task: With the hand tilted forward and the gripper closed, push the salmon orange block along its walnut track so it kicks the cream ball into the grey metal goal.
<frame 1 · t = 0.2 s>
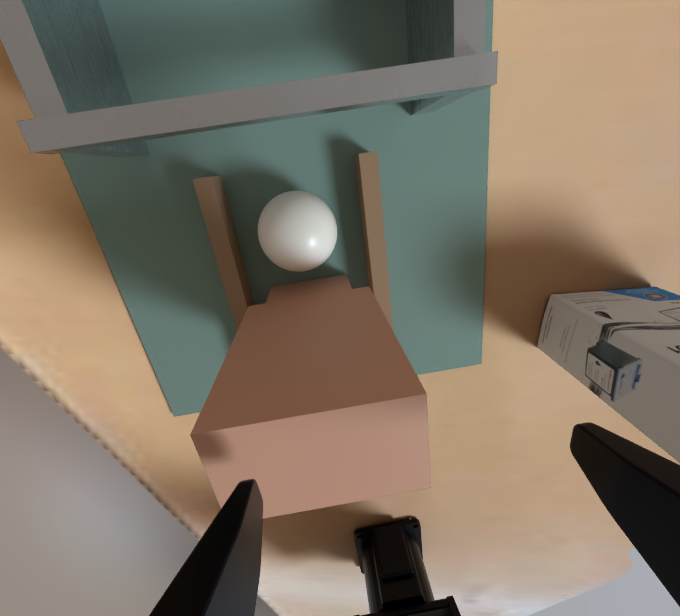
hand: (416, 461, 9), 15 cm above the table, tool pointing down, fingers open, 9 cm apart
salmon orange block: (316, 357, 16), point 7 cm above the table, slide at 0.0 cm
ball: (298, 232, 18), point 2 cm above the table, touching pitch
goal: (264, 40, 17), resting on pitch
ink box: (591, 318, 26), on the table
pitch: (294, 200, 20), on the table
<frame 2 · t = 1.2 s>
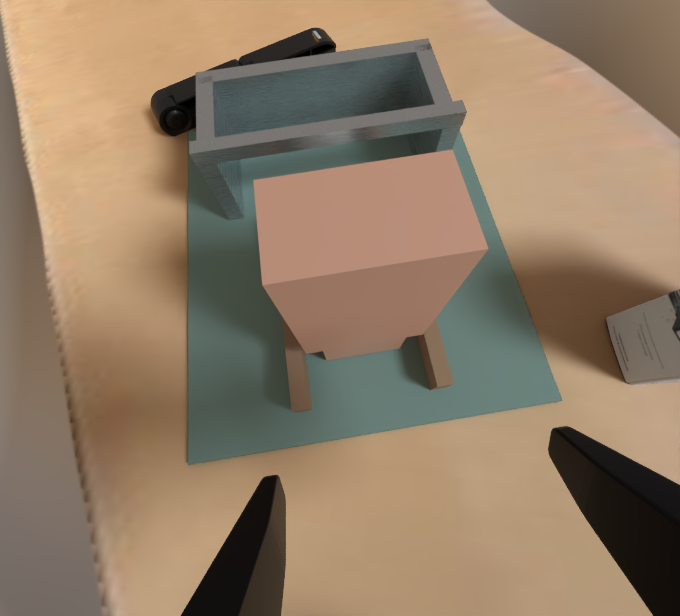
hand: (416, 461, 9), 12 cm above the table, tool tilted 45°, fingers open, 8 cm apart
salmon orange block: (359, 290, 17), point 7 cm above the table, slide at 0.0 cm
portable electronic device stand: (252, 98, 32), on the table
goal: (327, 164, 28), resting on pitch
ink box: (674, 349, 22), on the table
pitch: (342, 244, 26), on the table
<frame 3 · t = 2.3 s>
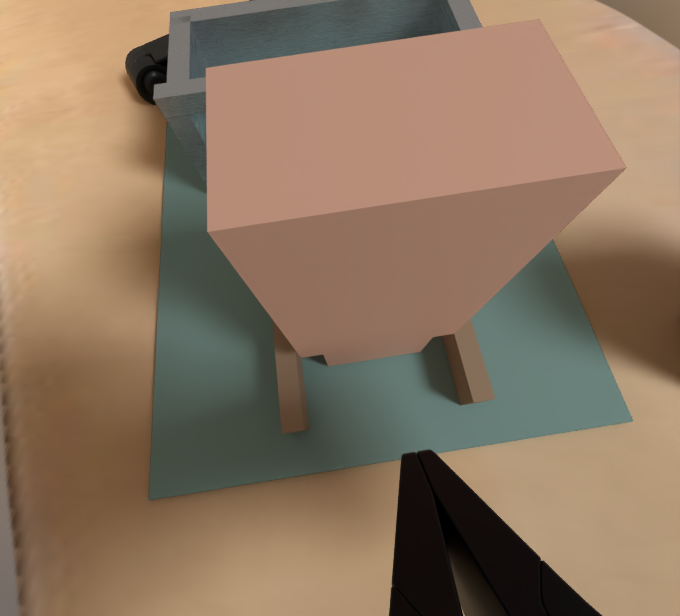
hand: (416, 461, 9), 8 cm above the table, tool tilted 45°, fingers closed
salmon orange block: (374, 271, 12), point 7 cm above the table, slide at 0.0 cm
portable electronic device stand: (245, 61, 28), on the table
goal: (330, 133, 24), resting on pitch
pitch: (348, 224, 21), on the table
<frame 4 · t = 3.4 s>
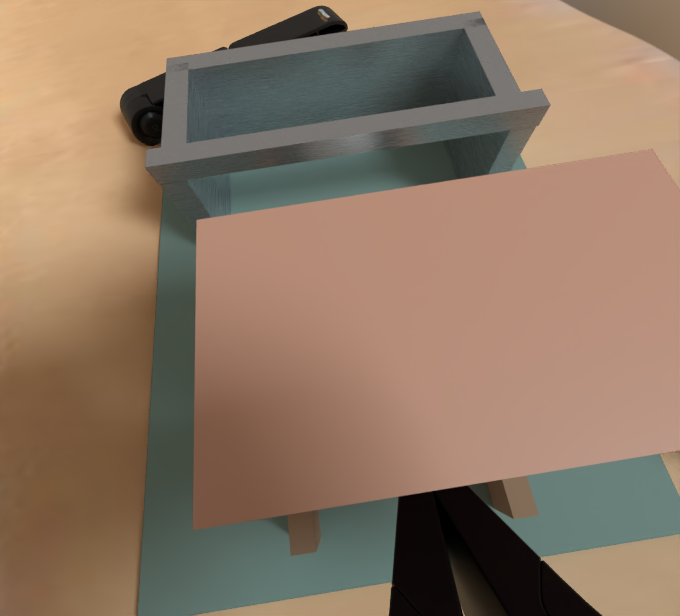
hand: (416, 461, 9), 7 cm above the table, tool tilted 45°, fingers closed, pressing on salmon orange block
salmon orange block: (401, 381, 10), point 7 cm above the table, slide at 0.3 cm, touching gripper
portable electronic device stand: (247, 96, 26), on the table
goal: (340, 179, 22), resting on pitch
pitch: (361, 284, 19), on the table
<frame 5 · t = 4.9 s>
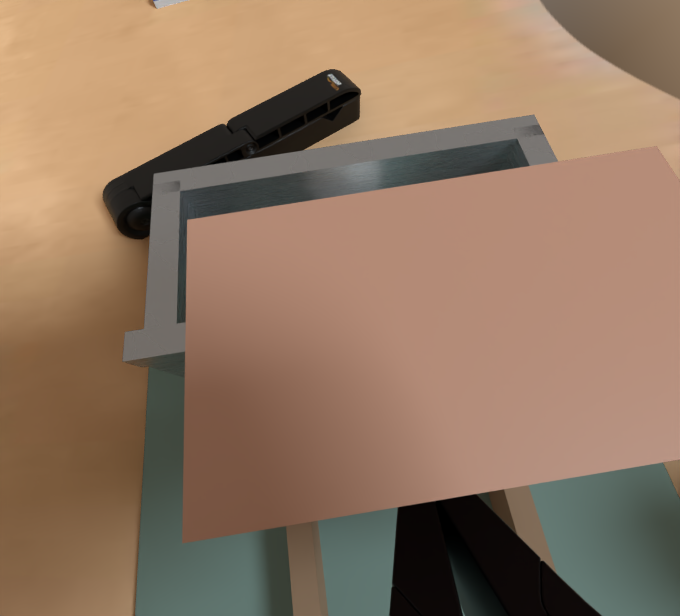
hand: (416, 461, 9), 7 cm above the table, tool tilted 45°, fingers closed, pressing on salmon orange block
salmon orange block: (399, 382, 10), point 7 cm above the table, slide at 8.5 cm, touching goal, gripper
portable electronic device stand: (249, 170, 23), on the table
goal: (360, 286, 19), resting on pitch
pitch: (388, 432, 16), on the table
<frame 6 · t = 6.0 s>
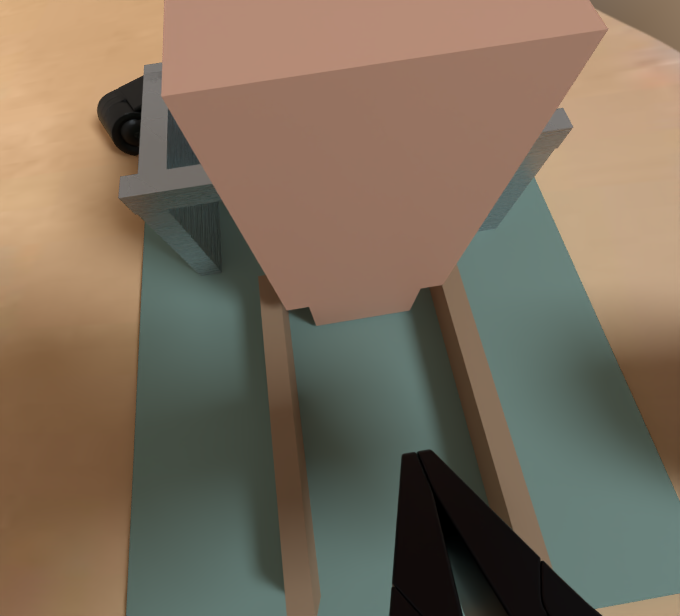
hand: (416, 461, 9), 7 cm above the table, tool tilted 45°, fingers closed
salmon orange block: (358, 211, 12), point 7 cm above the table, slide at 8.5 cm, touching goal
portable electronic device stand: (235, 96, 25), on the table
goal: (338, 193, 21), resting on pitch
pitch: (361, 312, 18), on the table
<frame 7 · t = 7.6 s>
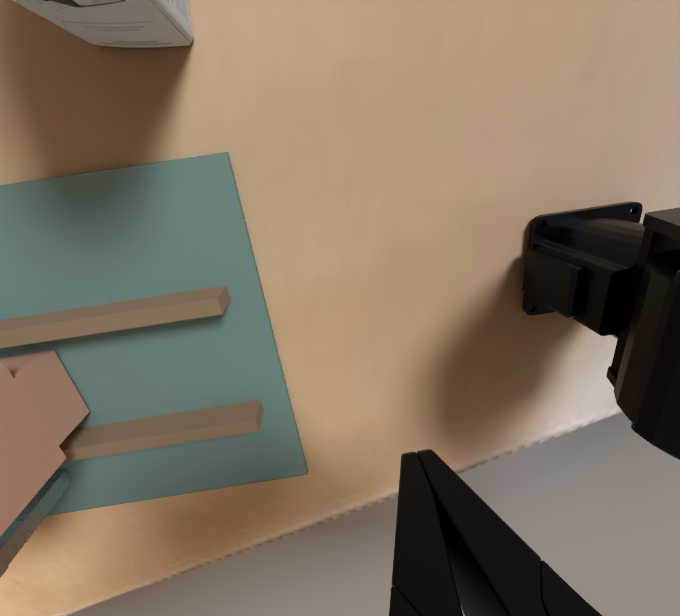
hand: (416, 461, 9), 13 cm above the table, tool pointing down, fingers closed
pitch: (70, 378, 22), on the table
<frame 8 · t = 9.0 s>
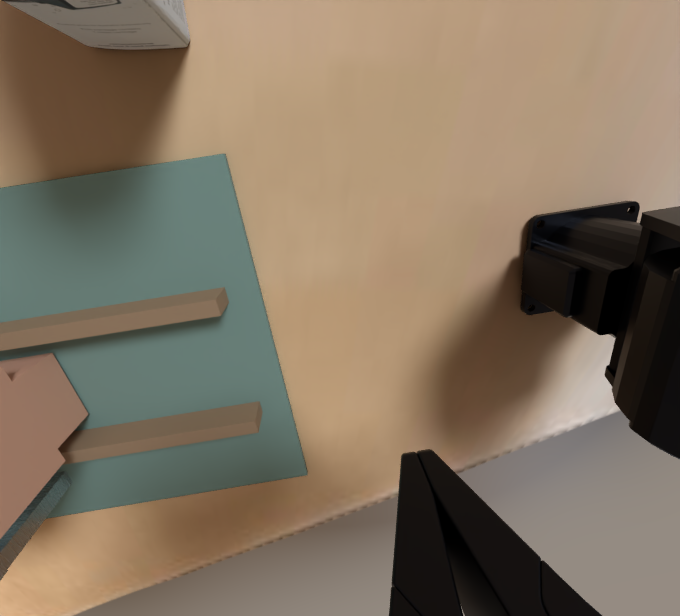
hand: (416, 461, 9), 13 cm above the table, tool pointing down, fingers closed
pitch: (68, 381, 22), on the table
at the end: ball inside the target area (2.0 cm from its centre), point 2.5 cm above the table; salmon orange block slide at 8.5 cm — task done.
